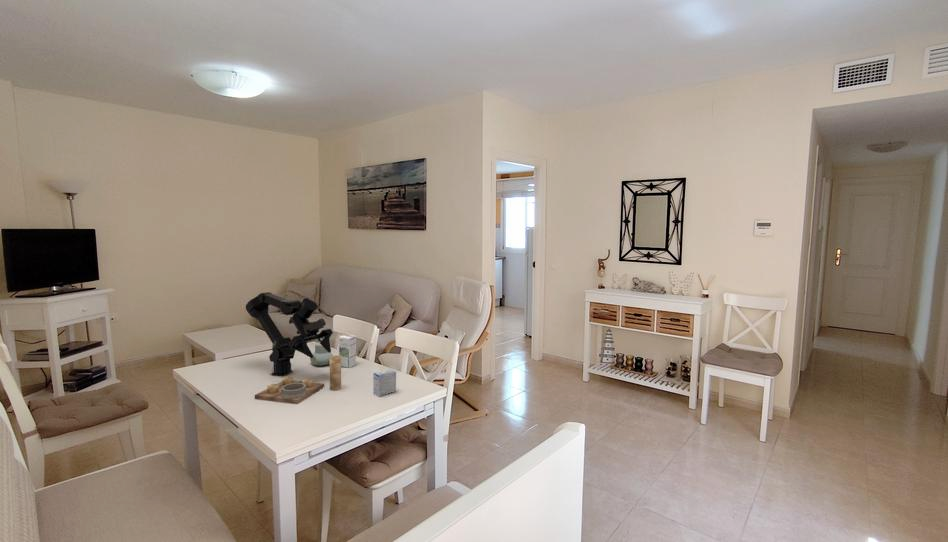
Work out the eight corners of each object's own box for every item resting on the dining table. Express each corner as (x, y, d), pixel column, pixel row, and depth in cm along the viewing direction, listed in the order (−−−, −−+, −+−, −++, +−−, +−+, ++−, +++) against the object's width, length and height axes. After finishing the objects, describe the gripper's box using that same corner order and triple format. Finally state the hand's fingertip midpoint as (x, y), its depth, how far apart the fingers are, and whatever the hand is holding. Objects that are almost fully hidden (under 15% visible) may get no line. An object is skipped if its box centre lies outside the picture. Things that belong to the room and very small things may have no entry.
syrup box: (356, 364, 206) (356, 335, 205) (349, 368, 201) (348, 337, 199) (346, 363, 208) (346, 333, 207) (338, 366, 202) (338, 336, 201)
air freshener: (308, 363, 207) (308, 342, 206) (325, 360, 213) (325, 340, 212) (318, 368, 199) (317, 347, 198) (335, 365, 205) (335, 344, 204)
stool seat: (254, 398, 162) (254, 387, 162) (285, 382, 180) (285, 372, 179) (297, 404, 158) (296, 392, 158) (324, 387, 176) (324, 376, 176)
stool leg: (327, 389, 173) (327, 358, 172) (333, 386, 177) (333, 355, 176) (337, 390, 172) (337, 359, 171) (343, 387, 177) (343, 356, 175)
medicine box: (389, 389, 176) (390, 368, 175) (396, 392, 172) (396, 371, 172) (372, 393, 170) (373, 372, 169) (379, 397, 167) (379, 375, 166)
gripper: (292, 316, 171) (312, 348, 166) (329, 310, 187) (348, 338, 183) (280, 333, 175) (299, 364, 171) (317, 325, 192) (335, 353, 187)
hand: (321, 354), depth 178 cm, fingers open, 9 cm apart
